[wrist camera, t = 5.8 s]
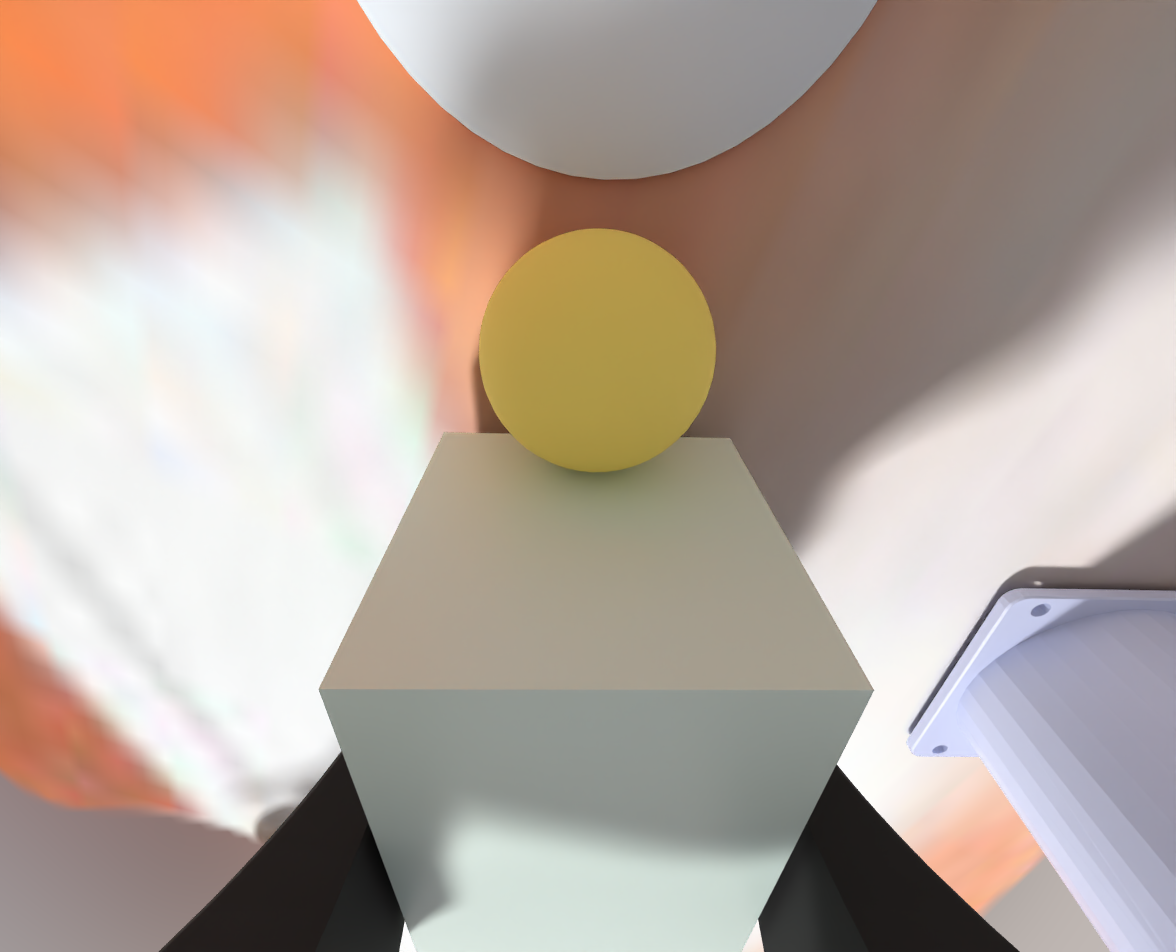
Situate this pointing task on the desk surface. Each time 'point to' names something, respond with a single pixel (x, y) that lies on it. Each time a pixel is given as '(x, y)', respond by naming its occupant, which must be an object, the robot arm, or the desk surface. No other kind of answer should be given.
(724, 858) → the pale mint box
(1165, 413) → the desk surface
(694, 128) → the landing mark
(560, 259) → the ball
